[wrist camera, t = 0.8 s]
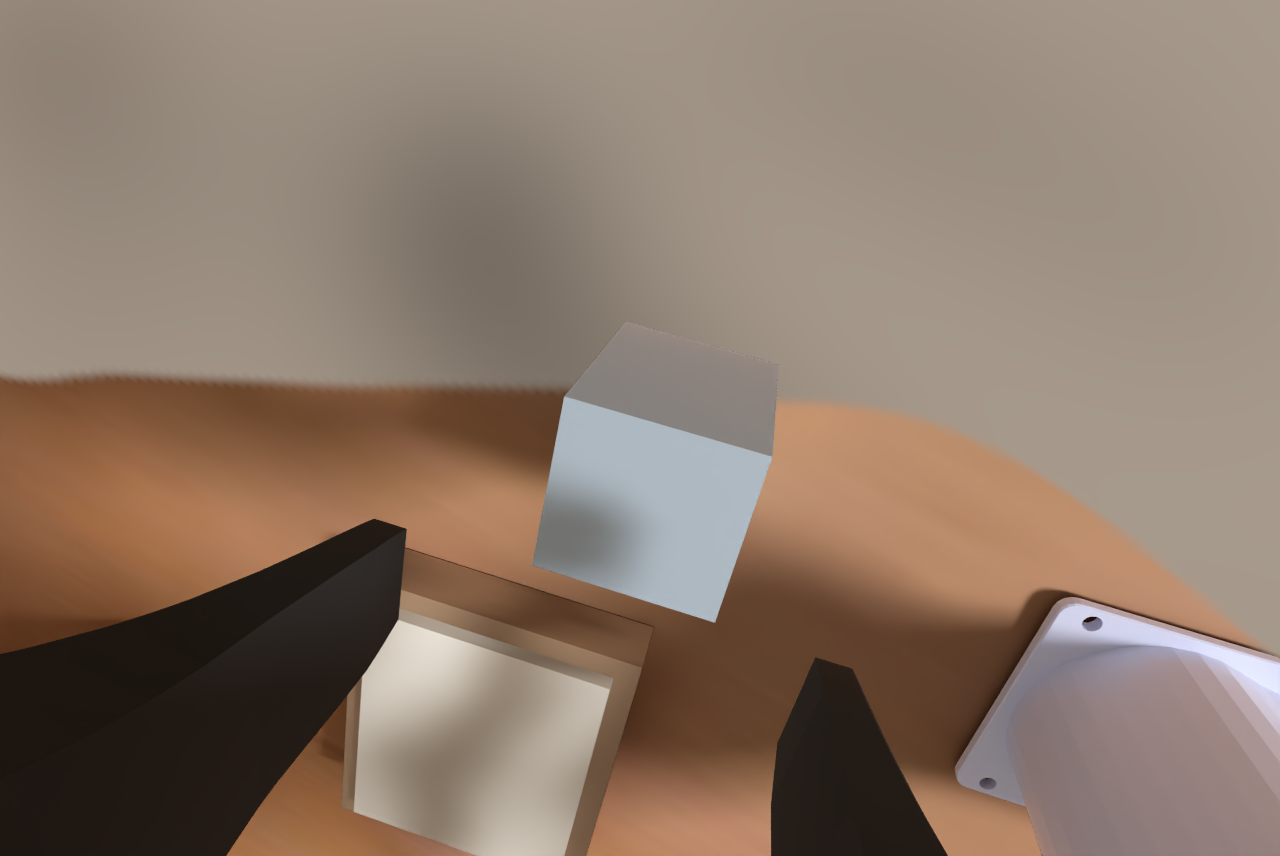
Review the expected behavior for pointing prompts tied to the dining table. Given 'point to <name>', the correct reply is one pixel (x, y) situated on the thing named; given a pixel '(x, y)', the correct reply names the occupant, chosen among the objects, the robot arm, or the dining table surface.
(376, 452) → the dining table surface
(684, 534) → the block
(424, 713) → the brown picture frame
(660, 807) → the dining table surface
